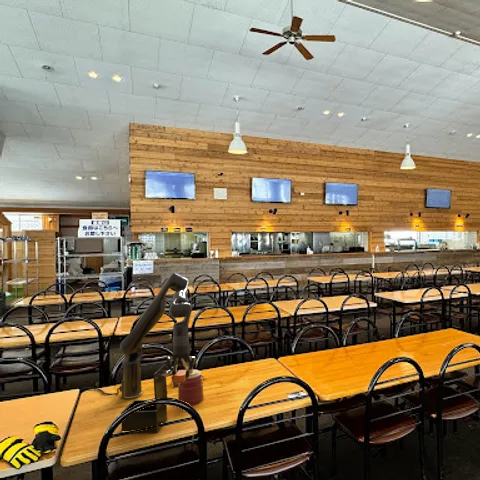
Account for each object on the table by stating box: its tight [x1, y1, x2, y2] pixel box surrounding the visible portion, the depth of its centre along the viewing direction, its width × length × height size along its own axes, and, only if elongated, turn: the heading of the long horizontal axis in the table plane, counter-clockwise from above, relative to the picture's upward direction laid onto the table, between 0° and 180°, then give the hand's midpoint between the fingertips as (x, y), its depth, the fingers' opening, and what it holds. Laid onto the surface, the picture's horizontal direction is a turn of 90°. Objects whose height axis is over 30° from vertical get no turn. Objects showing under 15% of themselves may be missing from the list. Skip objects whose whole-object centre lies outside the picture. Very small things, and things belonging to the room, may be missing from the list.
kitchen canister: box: [177, 368, 204, 406], centre depth 203 cm, size 13×13×18 cm
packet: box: [172, 369, 187, 382], centre depth 186 cm, size 8×5×3 cm, turn 2°
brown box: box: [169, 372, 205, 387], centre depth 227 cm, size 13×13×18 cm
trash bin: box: [120, 399, 168, 435], centre depth 176 cm, size 16×13×10 cm
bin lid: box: [152, 364, 173, 410], centre depth 176 cm, size 16×13×5 cm
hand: (181, 377), depth 186 cm, fingers closed on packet, 5 cm apart
